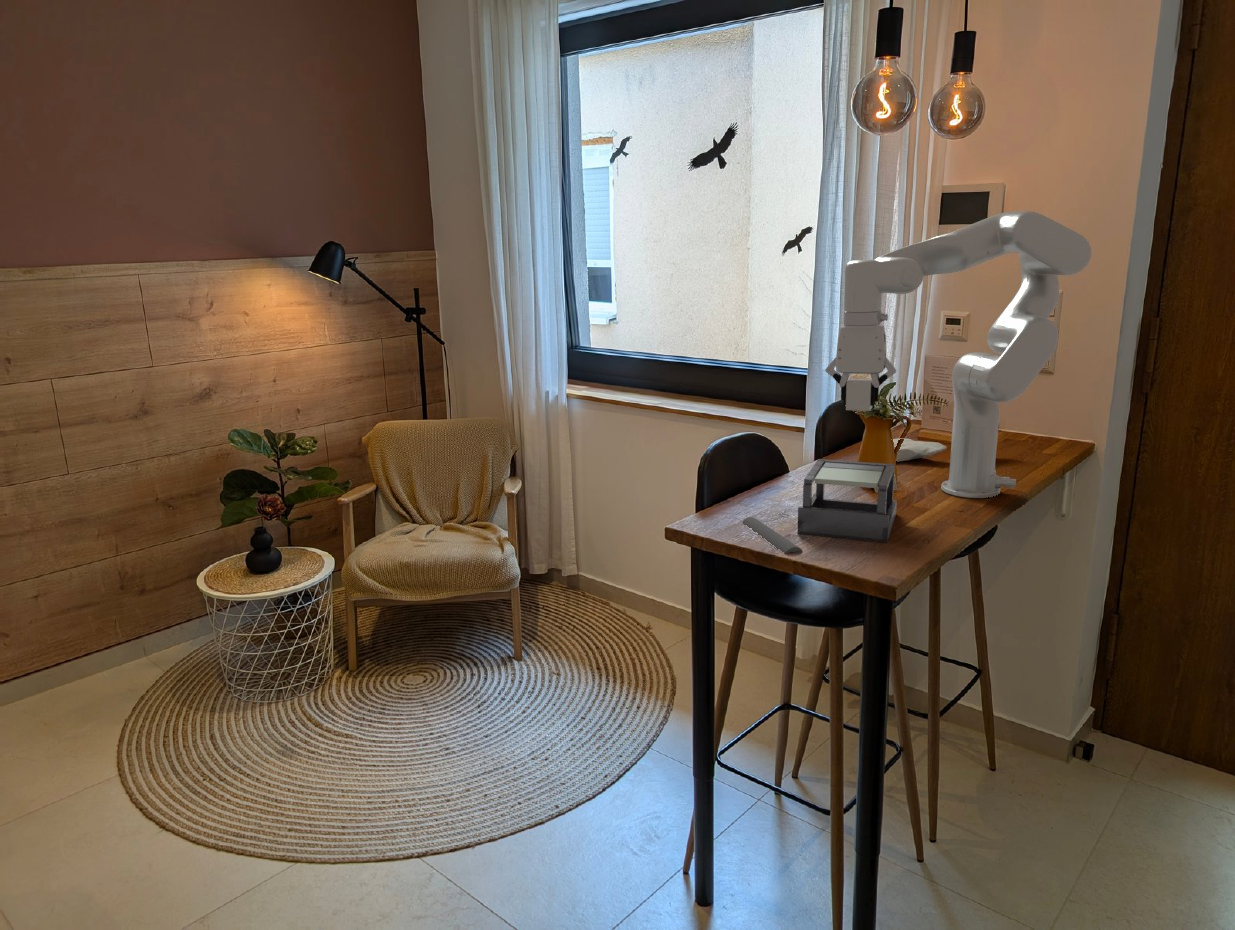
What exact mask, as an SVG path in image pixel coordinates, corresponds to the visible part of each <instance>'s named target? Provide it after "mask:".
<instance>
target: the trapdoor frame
mask: <svg viewBox="0 0 1235 930" xmlns="http://www.w3.org/2000/svg"><path fill="white" fill-rule="evenodd" d="M826 462H827V463H841V464H855V465H869V466H883V467H884V474H883V476H882V478H881V481H880V482H879V485H878V491H877V503H876V502H866V501H856V500H855V501H853V500H842V499H831V498H825V485H826V484H817V483H815V477H816V476H817V474H818V473H819V471H820V470H821V468H822V467H823V465H824V464H825V463H826ZM895 469H896V464H894V463H883V462H882V463H881V462H868V461H867V462H865V461H864V462H863V461H853V460H852V461H850V460H838V459H836V460H835V459H821V458H818V459H817V461H816V462H815V463H814V465H813V466H812V468H811V469H810V470H809V472H808V473H807V474H806V475H805V477H804V479H803V484H802V485H803V486H802V488H803V489H802V505H798V508H797V534H798V535H807V536H817V537H826V538H834V539H835V538H836V539H847V540H857V541H864V542H865V541H867V542H874V543H875V542H877V543H888V541H889V538H890V535H891V532H892V528H893V524H894V522H895V518H896V515H897V506H898V505H897V503H898V502H897V501H898V500H897V499H894V485H895ZM813 483H815V484H816V486H815V488H816V489H815V493H813Z"/></svg>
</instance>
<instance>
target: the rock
mask: <svg viewBox="0 0 1235 930" xmlns="http://www.w3.org/2000/svg"><path fill="white" fill-rule="evenodd" d="M900 439H901V438H900V437H899V438H893V442H894V447H896V446H897V443H898V440H900ZM903 439H904V441H903V443H902V444H901V447H900V449H899V451H898V452H897V462H896V463H899V462H905V461H906V462H907V461H911V460H915V459H921V458H929V457H930V456H933V455H935V454H938V453H941V452H944V451H945V450H947V448H948V446H946V445H944V444H942V443H940V442H935V441H922V440H913V439H911V438H903Z"/></svg>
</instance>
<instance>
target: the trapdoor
mask: <svg viewBox="0 0 1235 930" xmlns="http://www.w3.org/2000/svg"><path fill="white" fill-rule="evenodd" d="M884 471H885V470H884V467H883V466H869V465H855V464H841V463H827V462H826V463H825V464H824V465H823V467H822V468H821V470H820V471H819V473H818V474H817V476H816V477H815V480H814V484H816V483H817V484H825V485H829V486H830V485H832V486H845V487H855V488H870V489H872V488H873V489H878V488H879V483H880V481H881V478H882V476H883V474H884Z"/></svg>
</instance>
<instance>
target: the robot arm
mask: <svg viewBox="0 0 1235 930" xmlns="http://www.w3.org/2000/svg"><path fill="white" fill-rule="evenodd" d="M1010 253H1011V254H1012V253H1013V254H1014V253H1015V254H1018V258H1019V260H1018V261H1019V266H1020V270H1021V271H1020V272H1021V282H1020V286H1019V289H1018V290H1017V292H1016V293H1015V296H1013V298H1012V299H1011V301H1010V302H1009V303H1008V305H1007V306H1006V307H1005V309H1004V310H1003V311H1002V312H1001V314H1000V315H999V316H998V317H997V319H996V320H995V321H994V323H992V325H991V327H990V328H989V330H988V333H987V337H986V342H987V345H988V347H989V348H990V349H991V350H992V351H993V352H994V353H996V354H997V355H996V354H993V353H988V352H982V351H981V352H980V351H978V352H977V351H974V352H969V353H966V354H964V355H963V356H961V357H959V358H958V360H957V361H956V362H955V363H954V367H953V369H952V371H951V372H952V373H951V383H952V392H953V422H952V431H951V432H952V433H951V446H950V459H949V471H948V472H949V473H948V474H949V475H948V480H945V481H942V483H941V484H940V486H941V487H940V489H941V490H942V491H943V492H944V493H946V494H948V495H952V496H956V497H961V498H969V499H985V498H986V499H987V498H988V497H989V498H993V496H994V497H997V496H998V494H999V495H1000V493H1001V487H1006V488H1016V486H1017V479H1016V478H1011V477H1009V476H1000V475H997V471H996V460H997V459H996V458H997V448H998V447H997V445H998V437H999V436H998V435H999V430H998V426H999V427H1000V407H999V403H1001V404H1002V403H1009V402H1010V403H1011V402H1013V401H1014V400H1016V399H1018V398H1019V397H1020V396H1021V395H1022V394H1023V393H1024V392H1026V390H1027V388H1028V387H1029V386H1030V385H1031V384H1032V383H1033V381H1034V380H1035V378H1036V377H1037V376H1038V375H1039V374H1040V372H1041V371H1042V370H1043V368H1044V367H1045V366H1046V364H1047V363H1048V362H1049V361H1050V360H1051V358H1052V356H1053V355H1054V353H1055V351H1056V349H1057V346H1058V343H1059V330H1058V328H1057V326H1056V324H1055V323H1054V322H1053V321H1052V320H1051V319H1049V318H1050V316H1051V314H1052V313H1053V312H1054V310H1055V309H1056V308H1057V305H1058V302H1059V298H1060V282H1059V276H1072V275H1073V276H1074V275H1076V274H1078V273H1080V272H1082V271H1083V270H1084V269H1085V268H1086V267H1087V266H1088V265H1089V263H1090V261H1091V258H1092V246H1091V244H1090V242H1089V241H1088V239H1087V238H1086V237H1084V236H1083V235H1082V234H1081V233H1079V232H1077V231H1076V230H1073V229H1071V228H1070V227H1067V226H1066V225H1063V224H1062V223H1059V222H1058V221H1056V220H1053V219H1052V218H1050V217H1048V216H1046V215H1044V214H1041V213H1039V212H1036V211H1030V210H1025V211H1024V210H1023V211H1005V212H1001V213H998V214H994V215H992V216H989V217H987V218H984V219H981V220H979V221H976V222H973V223H972V224H969V225H966V226H964V227H961V228H958V229H955V230H954V231H950V232H948V233H944V234H941V235H937V236H935V237H932V238H929V239H925V240H922V241H920V242H915V243H911V244H909V245H907V246H903V247H901V248H897V249H895V250H893V251H890V252H888V253H886V254H885V253H884V254H882V255H880V256H878V257H876V258H875V259H855V260H850V261H849V262H847V263H846V265H845V268H844V292H843V293H844V295H843V296H844V299H843V301H844V303H843V325H840V326H839V327H840V328H839V332H838V336H837V337H838V338H837V343H836V354H835V358H834V359H833V360H832V361H831V362H830V363H829V364H828V366H827V367H826V368H825V370H824V371H825V372H826V373H827V374H828V376H829V375H830V377H832V378H833V380H835V382H836V383H837V384H838V385H839V386H840V401H842V402H843V406H846V386H847V381H848V380H849V379H850V378H849V377H850V374H853V375H854V374H859V375H860V374H861V375H862V374H863V375H864V374H865V375H870V377H871V378H870V379H872V382H873V384H872V388H871V406H872V407H875V405H876V403H877V402H879V395H880V394H879V392H880V386H881V385H882V384H884V382H886V380H888V379H889V378H891V377H892V376H893V375H895V374H896V373H897V369H896V368H895V366H894V365H893V364H892V362H891V361H890V360H889V359H888V357H887V338H886V336H887V335H886V330H885V325H883V324H881V323H883V322H885V321H888V319H889V318H888V317H889V316H888V315H889V314H888V313H887V314H886V313H883V312H882V294H893V295H894V294H895V295H907V294H911V293H913V292H914V291H916V290H918V288H920V286H921V285H922V283H923V280H924V278H925V277H928V276H933V275H943V274H946V275H947V274H953V273H958V272H959V273H960V272H962V271H963V272H964V271H966V270H968V269H971V268H973V267H976V266H978V265H980V264H981V265H982V264H983V263H985V262H988V261H991V260H993V259H995V258H996V259H997V258H998V257H1001V256H1004V255H1007V254H1010ZM998 354H999V355H998ZM835 369H836V370H835ZM885 369H886V370H887V371H886V372H885V373H883V371H884V370H885ZM840 373H841V374H840ZM881 373H883V374H882V375H881V376H879V374H881ZM996 495H997V496H996Z"/></svg>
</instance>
